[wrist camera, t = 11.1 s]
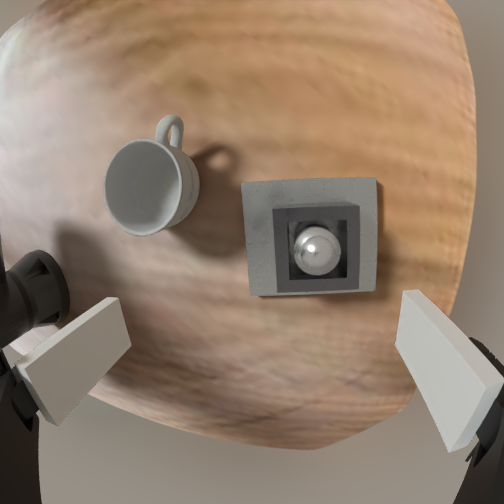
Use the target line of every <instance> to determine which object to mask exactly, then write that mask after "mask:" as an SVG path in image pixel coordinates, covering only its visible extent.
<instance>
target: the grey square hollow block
mask: <svg viewBox="0 0 504 504" xmlns="http://www.w3.org/2000/svg"><path fill="white" fill-rule="evenodd" d="M272 215H273V230H274V246H275V263H276V281H277V293H286V292H315V291H337V290H356V289H359V274H360V206H359V205H356V204H353V203H350V202H327V203H301V204H280V205H275V206H274V208H273V209H272ZM319 220H338V242H339V245H340V249H341V255H340V259H339V261H338V263H337V265H336V266H335V267H334V268H333V269H332V270H331V271H330V272H328V273H326V274H323V275H311V274H308V273H306V272H304V271H303V270H302V269H301V268H300V267H299V266H298V265H297V263H294V264H291V261H290V239H289V222H295V221H319Z"/></svg>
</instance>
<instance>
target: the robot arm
mask: <svg viewBox="0 0 504 504" xmlns="http://www.w3.org/2000/svg"><path fill="white" fill-rule="evenodd" d="M68 311H69V294H68V289H67V285H66V282H65V279H64V277H63V274H62V272H61V270H60V268H59V267H58V265H57V264H56V262H55V261H54V259H53V258H52V257H51V256H50V255H49V254H47V253H46V252H44V251H42V250H36V251H33V252H30V253H28V254H26V255H25V256H24V257H23V258H21V259H20V260H19V261H18V262H17V263H16V264H15V265H14V266H13V267H12V268H11V269H10V270H8V271H6V272H5V266H4V260H3V254H2V246H1V236H0V504H42V502H41V493H40V482H39V464H38V438H39V417H38V416H37V414H36V412H37V411H38V410H40V411H41V413H42V415H43V416H44V417H45V419H46V420H47V421H48V422H50V423H52V424H54V425H56V426H59V425H60V424H61V422H62V421H63V420H64V419H65V418H66V417H67V416H68V415H69V413H70V412H71V411H72V410H73V409H74V408H75V407H76V406H77V405H78V403H79V402H80V401H81V400H82V399H83V398H84V397H85V396H86V395H87V393H88V392H89V391H90V390H91V389H92V388H93V387H94V386H95V385H96V383H97V382H98V381H99V380H100V379H101V378H102V377H103V376H104V375H105V374H106V373H107V371H108V370H109V369H110V368H111V367H112V366H113V365H114V364H115V363H116V362H117V361H118V360H119V359H120V357H121V356H122V355H123V354H124V353H125V352H126V351H127V350H128V349H129V348H130V347H131V346H132V345H131V342H130V338H129V335H128V331H127V328H126V324H125V321H124V317H123V313H122V309H121V305H120V301H119V298H114V297H107V298H105V299H104V300H102V301H101V302H99V303H98V304H96V305H95V306H93V307H92V308H91V309H89V310H88V311H86V312H85V313H83V314H82V315H80V316H79V317H78V318H76V319H75V320H73V321H72V322H70V323H69V324H68V325H66V326H65V327H63V328H62V329H61V330H59V331H58V332H56V333H55V334H54V335H52V336H51V337H49V338H48V339H47V340H45V341H44V342H43V343H41V344H40V345H38V346H37V347H36V348H34V349H33V350H32V351H30V352H29V353H28V354H26V355H25V356H24V357H22V358H21V359H20V360H18V362H16V363H15V367H13V368H12V369H11V368H10V366H9V364H8V362H7V359H6V357H5V355H4V353H3V350H2V348H4V347H5V346H7V345H8V344H10V343H11V342H13V341H14V340H16V339H17V338H19V337H20V336H22V335H23V334H25V333H26V332H28V331H29V330H31V329H32V328H36V327H43V326H49V325H54V324H57V323H58V322H60V321H62V320H63V319H64V318H65V317H66V316H67V314H68ZM395 346H396V348H397V350H398V352H399V353H400V355H401V357H402V359H403V360H404V362H405V364H406V366H407V368H408V370H409V371H410V373H411V375H412V377H413V379H414V381H415V383H416V385H417V387H418V389H419V390H420V392H421V394H422V396H423V398H424V400H425V402H426V404H427V406H428V409H429V410H430V413H431V415H432V417H433V419H434V421H435V423H436V425H437V428H438V430H439V432H440V434H441V436H442V439H443V441H444V443H445V445H446V448H447V450H448V453H451V452H453V451H456V450H458V449H461V448H463V447H465V446H468V444H469V443H470V441H471V440H472V438H473V437H474V435H475V434H477V436H478V438H479V442H478V443H477V445H476V446H475V447H474V449H473V450H472V452H471V453H470V454H469V456H468V457H467V459H466V462H468V461H469V459H470V458H471V456H472V459H471V461H470V464H469V467H468V470H467V473H466V475H465V478H464V480H463V483H462V485H461V487H460V489H459V492H458V494H457V496H456V499H455V500H454V503H453V504H504V366H503V365H502V364H501V363H500V362H499V361H498V360H497V359H495V356H494V355H493V354H492V353H489V350H488V349H487V348H486V347H485V346H484V345H483V344H482V343H481V342H479V341H477V340H475V339H473V338H472V337H470V338H467V337H466V336H465V335H464V333H463V332H462V331H461V330H460V329H459V328H458V327H457V326H456V325H455V324H454V323H453V322H452V321H451V320H450V319H449V318H448V317H447V316H446V315H445V314H444V313H443V312H442V311H440V310H439V309H438V308H437V307H436V306H435V305H434V304H433V303H432V302H431V301H430V300H429V299H428V298H427V297H426V296H425V295H424V294H422V293H421V292H420V291H419V290H418V289H417V290H407V291H403V296H402V304H401V311H400V318H399V325H398V331H397V337H396V342H395Z"/></svg>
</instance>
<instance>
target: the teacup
mask: <svg viewBox="0 0 504 504" xmlns="http://www.w3.org/2000/svg"><path fill="white" fill-rule="evenodd" d="M171 126H172V136H171V141H170V143H169V141H168V132H169V130H170V128H171ZM183 130H184V125H183V121H182V119H181V118H180V117H178V116H176V115H167V116H165V117H164V118H163V119H161V121H160V122H159V124H158V126H157V128H156V134H155V140H152V139H137V140H134V141H131V142H129V143H127V144H125V145H124V146H122V147H121V148H120V149H119V150H118V151H117V152H116V153H115V155H114V156H113V158H112V159H111V161H110V162H109V165H108V167H107V170H106V173H105V177H104V186H103V191H104V200H105V204H106V207H107V210H108V212H109V214H110V216H111V218H112V219H113V220H114V221H115V223H116V224H117V225H118V226H119V227H120V228H121V229H122V230H124V231H125V232H127V233H129V234H132V235H135V236H148V235H152V234H155V233H157V232H159V231H161V230H164V229H167V228H169V227H172V226H174V225H176V224H178V223H179V222H181V221H182V220H183V219H185V218H186V217H187V216H188V215H189V213H190V212H191V211H192V209H193V208H194V206H195V204H196V202H197V199H198V195H199V189H200V182H199V175H198V171H197V169H196V166H195V164H194V163H193V161H192V160H191V158H190V157H189V156H188V155H187V154H185V153H184V152H183V151H182V138H183Z"/></svg>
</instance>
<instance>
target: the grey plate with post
mask: <svg viewBox="0 0 504 504" xmlns="http://www.w3.org/2000/svg"><path fill="white" fill-rule="evenodd" d="M241 192H242V204H243V216H244V228H245V240H246V252H247V264H248V276H249V287H250V296H272V295H305V294H329V293H348V292H365V291H375V287H376V270H377V236H378V220H377V186H376V177H344V178H309V179H289V180H272V181H258V182H246V183H241ZM327 202H350V203H353V204H356V205H359V206H360V274H359V289H356V290H337V291H315V292H286V293H277V281H276V263H275V246H274V230H273V215H272V209H273V208H274V206H275V205H280V204H301V203H327ZM289 239H290V261H291V264H294V263H297V265H298V266H299V267H300V268H301V269H302V270H303V271H304V272H306V273H308V274H311V275H323V274H326V273H328V272H330V271H331V270H332V269H333V268H334V267H335V266H336V265H337V263H338V261H339V259H340V255H341V249H340V245H339V242H338V220H319V221H295V222H289Z"/></svg>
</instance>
